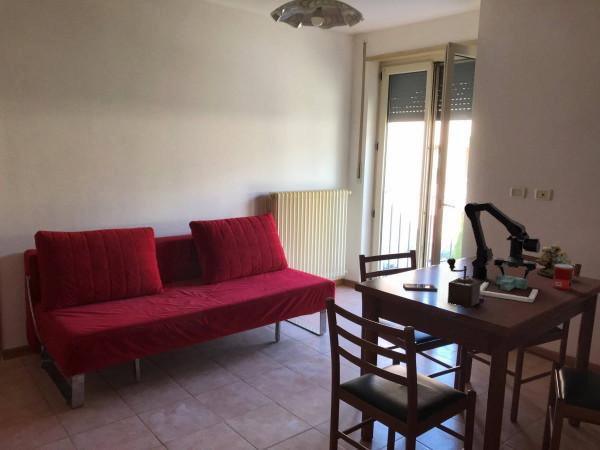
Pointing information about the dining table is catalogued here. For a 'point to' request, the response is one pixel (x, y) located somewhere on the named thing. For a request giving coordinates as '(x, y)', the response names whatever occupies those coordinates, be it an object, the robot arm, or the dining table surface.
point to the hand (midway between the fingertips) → (513, 280)
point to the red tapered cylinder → (562, 276)
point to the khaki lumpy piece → (551, 260)
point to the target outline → (506, 296)
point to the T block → (511, 282)
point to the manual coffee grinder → (462, 288)
